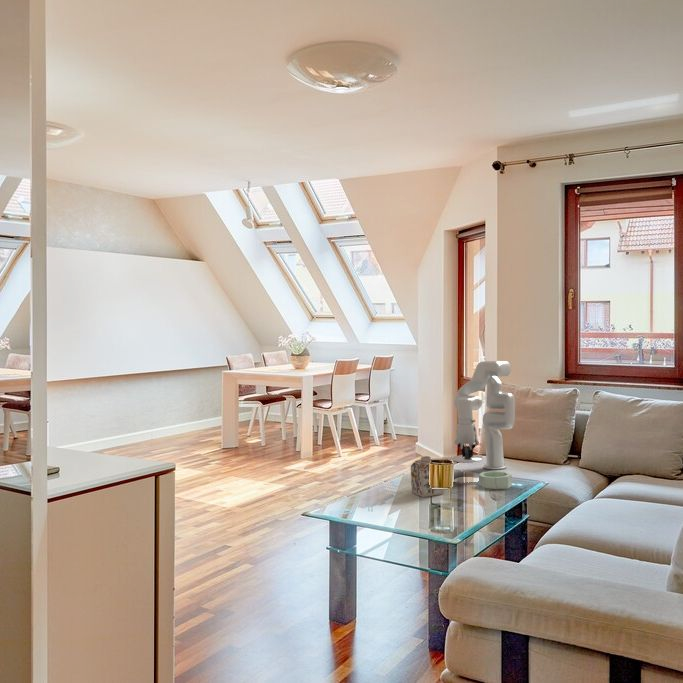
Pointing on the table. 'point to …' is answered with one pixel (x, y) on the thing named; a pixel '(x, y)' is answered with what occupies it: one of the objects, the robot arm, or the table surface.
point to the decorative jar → (422, 478)
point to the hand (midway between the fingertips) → (467, 456)
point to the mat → (469, 483)
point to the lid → (467, 457)
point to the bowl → (495, 480)
